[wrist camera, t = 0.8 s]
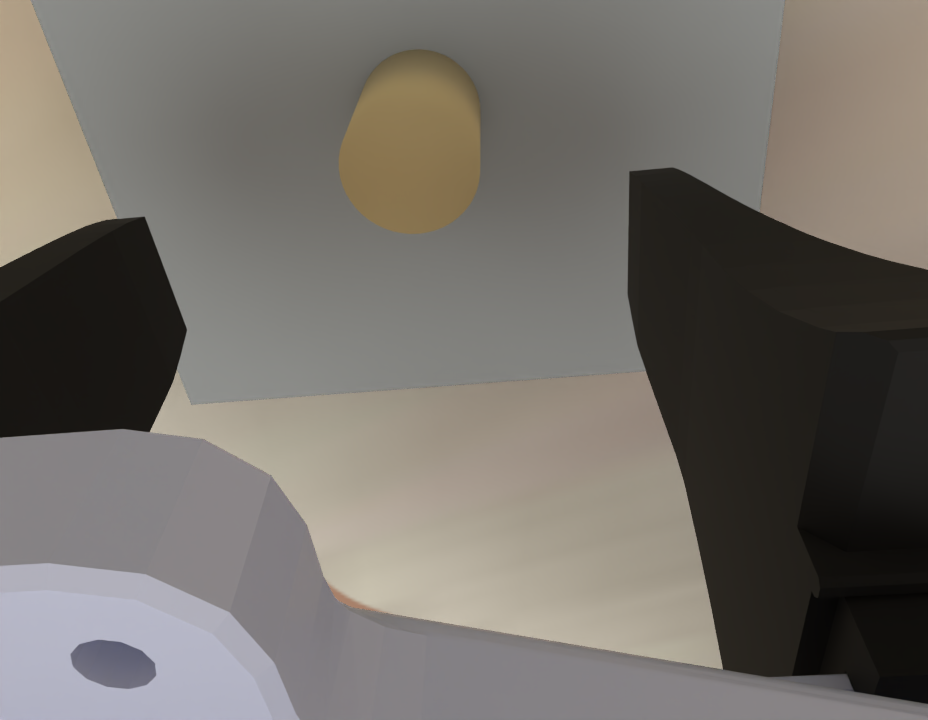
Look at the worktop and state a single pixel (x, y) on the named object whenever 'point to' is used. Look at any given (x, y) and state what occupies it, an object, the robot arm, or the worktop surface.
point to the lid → (407, 172)
